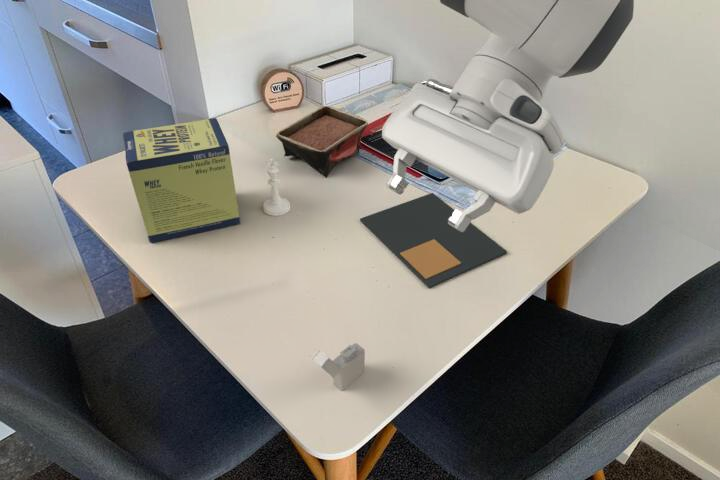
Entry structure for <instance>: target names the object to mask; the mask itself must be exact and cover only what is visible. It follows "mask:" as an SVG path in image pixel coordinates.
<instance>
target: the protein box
mask: <svg viewBox="0 0 720 480" xmlns="http://www.w3.org/2000/svg"><path fill="white" fill-rule="evenodd" d="M122 137H123V144H124V153H125V163H126V168H127V170H128V174H129V177H130V180H131V184H132V187H133V191H134V195H135V197H136V201H137V204H138V208H139V211H140V215H141V219H142V221H143V226H144V228H145V231H146V235H147V238H148V239H147V240H148V242H149V243H150V244H152V243H156V242H161V241H167V240H171V239H175V238H181V237H185V236H190V235H194V234H199V233H204V232H207V231H213V230H217V229H222V228H227V227H232V226H236V225H240V224H241V216H240V210H239V203H238V198H237V192H236V186H235V185H236V184H235V180H234V179H235V178H234V172H233V167H232V160H231V154H230V145H229V144H228V141H227V139H226V136H225V135H224V132H223V129H222V128H221V125H220V123H219V121H218V119H217V117H212V118H205V119H201V120H194V121H188V122H182V123H175V124H170V125H163V126H157V127H151V128H143V129H136V130H130V131H126V132H123V133H122Z"/></svg>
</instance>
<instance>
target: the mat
mask: <svg viewBox="0 0 720 480" xmlns="http://www.w3.org/2000/svg"><path fill="white" fill-rule="evenodd" d="M454 210H455V208H453V207H451V206H450V205H449V204H447V203H446V202H445V201H444V200H442V199H441V198H440V197H439V196H437V195H436V194H435V193H434V192H431V193H427V194H425V195H422V196H419V197H417V198H414V199H411V200H408V201H405V202H402V203H399V204H397V205H394V206H391V207H389V208H386V209H383V210H380V211H377V212H374V213H371V214H369V215H366V216H363V217H361V218H360V219H359V221H360V223H362V224H363V226H365V227H366V228H367V229H368V230H369V231H370V232H371V233H372V234H373V235H374V236H375V237H376V238H377V239H378V240H379V241H380V242H381V243H382V244H383V245H384V246H385V247H386V248H387V249H388V250H389V251H390V252H391V253H392V254H393V255H395V257H396V258H397V259H398V260H399V261H400V262H401V263H402V264H404V266H405V267H406V268H407V269H408V270H409V271H411V272H412V274H414V275H415V276H416V278H418V279H419V281H421V282H422V283H423V284H424V285H425V286H426V287H427V288H428V289H431V288H433V287H435V286H438V285H440V284H443V283H445V282H447V281H449V280H452V279H454V278H457V277H459V276H460V275H463V274H465V273H468V272H470V271H472V270H473V269H476V268H478V267H480V266H482V265H485V264H487V263H490V262H492V261H494V260H497V259H498V258H500V257H503V256H505V255H507V254H508V251H507V250H506V249H505V248H504V247H502V246H501V245H500V244H498V243H497V242H496V241H495V240H493V239H492V238H491V237H490V236H488V235H487V234H486V233H484V231H482V230H480V229H479V228H478V227H477V226H475V225H474V224H473V223H472V222H470V223H469V225H468V226H467V228H466V229H465V231H464V232H460V231H459V230H457V229H455V228H454V227H452V226H451V225H449V224H448V220H449V218H450V217H452V213H453V212H454Z"/></svg>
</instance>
